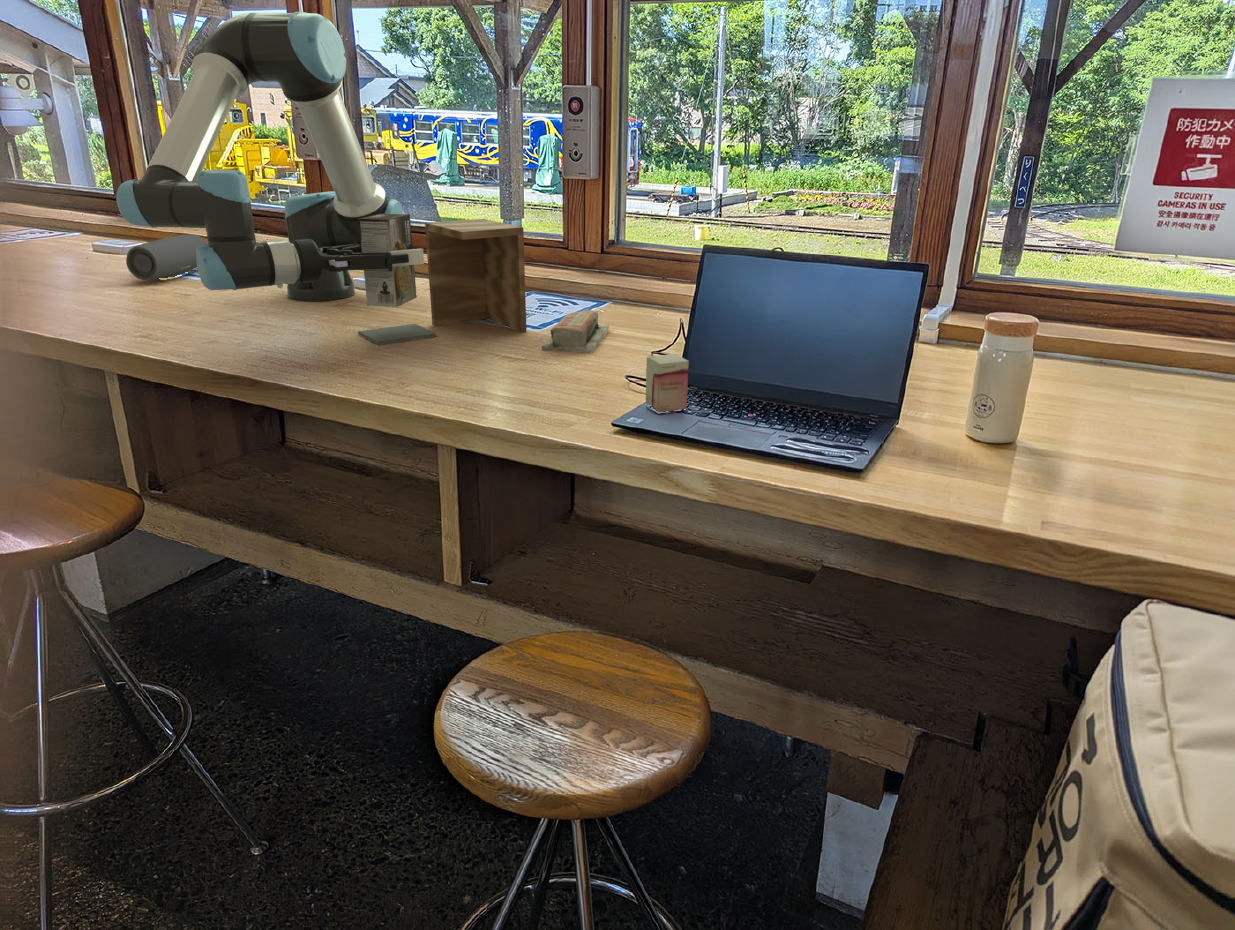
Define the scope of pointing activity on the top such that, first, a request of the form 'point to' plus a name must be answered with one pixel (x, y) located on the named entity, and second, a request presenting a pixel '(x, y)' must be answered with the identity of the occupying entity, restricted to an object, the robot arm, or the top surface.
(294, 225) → the robot arm
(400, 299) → the coffee box
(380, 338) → the mat
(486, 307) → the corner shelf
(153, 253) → the bluetooth speaker
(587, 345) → the packaged product
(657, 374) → the small box
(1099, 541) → the top surface
